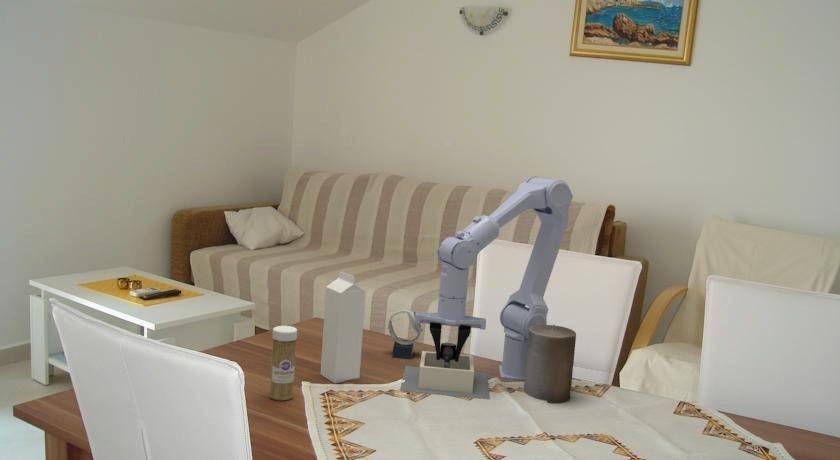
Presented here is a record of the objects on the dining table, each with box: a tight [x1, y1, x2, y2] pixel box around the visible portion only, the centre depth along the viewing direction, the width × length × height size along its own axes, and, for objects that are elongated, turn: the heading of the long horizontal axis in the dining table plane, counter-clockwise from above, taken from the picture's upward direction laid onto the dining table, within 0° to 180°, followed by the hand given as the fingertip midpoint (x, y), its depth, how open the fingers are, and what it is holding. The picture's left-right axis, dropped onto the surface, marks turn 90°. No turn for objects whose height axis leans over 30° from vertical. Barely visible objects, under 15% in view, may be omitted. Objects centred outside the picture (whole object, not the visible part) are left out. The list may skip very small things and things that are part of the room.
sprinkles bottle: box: [269, 325, 298, 401], centre depth 139 cm, size 5×5×13 cm
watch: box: [387, 308, 424, 360], centre depth 170 cm, size 6×8×11 cm
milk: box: [320, 270, 366, 384], centre depth 152 cm, size 6×6×22 cm
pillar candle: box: [523, 324, 577, 403], centre depth 152 cm, size 10×10×15 cm
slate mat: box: [399, 365, 491, 400], centre depth 154 cm, size 18×16×1 cm
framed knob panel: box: [418, 350, 475, 393], centre depth 154 cm, size 11×11×4 cm
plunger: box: [440, 342, 457, 368], centre depth 154 cm, size 9×9×7 cm
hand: (447, 359), depth 154 cm, fingers closed on plunger, 3 cm apart
